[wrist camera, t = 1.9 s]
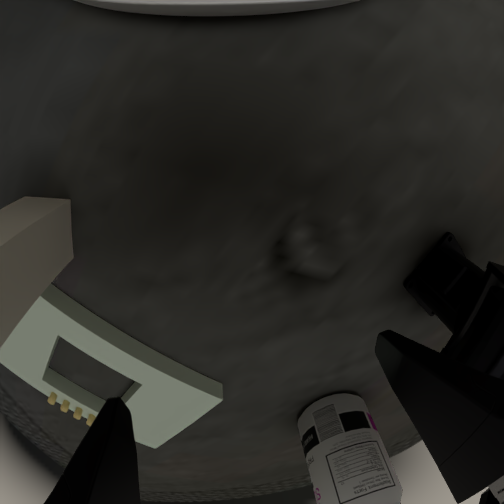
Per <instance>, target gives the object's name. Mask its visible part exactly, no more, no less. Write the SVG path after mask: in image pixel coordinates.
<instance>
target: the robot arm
mask: <svg viewBox="0 0 504 504" xmlns="http://www.w3.org/2000/svg"><path fill="white" fill-rule="evenodd" d="M448 238H449V239H448ZM486 268H487V269H486V271H485V272H484V271H483V270H482V269H480V268H479V267H478V266H476V265H475V264H474V263H472V262H471V261H470V260H468V259H467V258H466V257H465V255H464V253H463V251H462V249H461V248H460V246H459V244H458V242H457V241H456V239H455V237H454V235H453V234H451V233H450V232H447V233H446V234H445V235H444V236H443V238H442V239H441V240H440V241H439V243H438V244H437V245H436V246H435V247H434V249H433V250H432V251H431V252H430V253H429V255H428V256H427V257H426V258H425V259H424V261H423V262H422V263H421V264H420V265H419V266H418V267H417V269H416V270H415V271H414V272H413V273H412V274H411V275H410V276H409V278H408V279H407V280H406V281H405V283H404V287H405V288H406V289H407V290H408V292H409V293H410V294H411V295H412V296H413V297H414V298H415V299H416V300H417V302H418V303H419V304H420V305H421V306H422V307H423V308H424V309H425V311H426V312H427V313H428V314H429V315H430V316H433V315H435V314H436V315H437V317H438V318H439V319H440V320H441V321H442V322H443V323H444V324H445V325H446V326H447V328H448V329H449V330H450V331H451V332H452V333H453V335H452V336H451V338H450V340H449V341H448V343H447V344H446V346H445V348H443V349H442V351H441V352H440V353H439V352H437V351H435V350H432V349H430V348H428V347H426V346H424V345H422V344H419V343H417V342H415V341H413V340H411V339H409V338H406V337H404V336H402V335H400V334H398V333H396V332H394V331H391V330H385V331H383V332H380V333H379V334H378V337H377V342H376V346H375V353H376V356H377V358H378V360H379V362H380V364H381V366H382V368H383V371H384V373H385V375H386V377H387V379H388V381H389V383H390V385H391V387H392V389H393V391H394V392H395V394H396V396H397V397H398V399H399V401H400V402H401V404H402V406H403V407H404V409H405V411H406V412H407V414H408V416H409V417H410V419H411V421H412V422H413V424H414V426H415V428H416V429H417V431H418V433H419V434H420V436H421V438H422V440H423V441H424V443H425V445H426V447H427V448H428V450H429V452H430V454H431V455H432V457H433V459H434V461H435V463H436V464H437V466H438V468H439V470H440V472H441V474H442V476H443V478H444V479H445V481H446V483H447V485H448V487H449V489H450V491H451V493H452V494H453V496H454V498H455V500H456V502H457V503H458V504H459V503H461V502H463V501H464V500H466V499H468V498H470V497H471V496H473V495H475V494H476V493H478V492H479V491H481V490H483V489H484V488H486V487H489V488H488V489H487V490H486V491H485V492H484V493H483V494H482V495H481V498H480V502H479V504H504V266H502V265H499V264H496V263H493V262H490V261H489V262H488V264H487V267H486ZM409 284H410V285H409ZM44 504H141V502H140V492H139V480H138V464H137V451H136V444H135V438H134V431H133V423H132V416H131V412H130V410H129V408H128V407H127V406H126V404H125V403H124V402H123V400H122V399H121V398H120V397H110V398H108V399H107V400H106V402H105V403H104V405H103V407H102V408H101V410H100V411H99V413H98V415H97V416H96V418H95V420H94V421H93V423H92V424H91V426H90V428H89V429H88V431H87V433H86V434H85V436H84V438H83V439H82V441H81V443H80V444H79V446H78V448H77V449H76V451H75V453H74V455H73V456H72V458H71V460H70V461H69V463H68V465H67V467H66V468H65V470H64V472H63V474H62V475H61V477H60V479H59V481H58V482H57V484H56V486H55V488H54V489H53V491H52V492H51V494H50V495H49V497H48V498H47V500H46V501H45V503H44Z"/></svg>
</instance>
